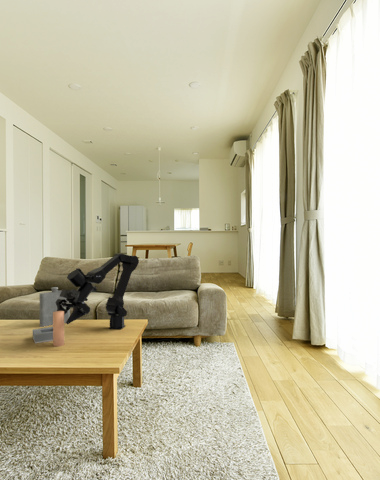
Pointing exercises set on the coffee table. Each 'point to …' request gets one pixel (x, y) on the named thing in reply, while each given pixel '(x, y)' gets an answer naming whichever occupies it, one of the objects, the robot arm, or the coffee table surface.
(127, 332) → the coffee table surface
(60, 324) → the pin
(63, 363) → the coffee table surface
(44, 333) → the socket block
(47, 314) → the hip flask
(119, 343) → the coffee table surface
